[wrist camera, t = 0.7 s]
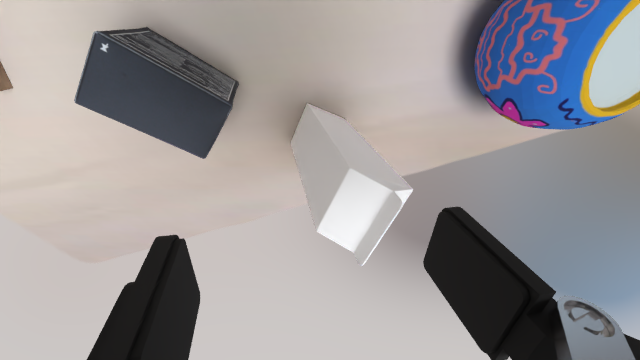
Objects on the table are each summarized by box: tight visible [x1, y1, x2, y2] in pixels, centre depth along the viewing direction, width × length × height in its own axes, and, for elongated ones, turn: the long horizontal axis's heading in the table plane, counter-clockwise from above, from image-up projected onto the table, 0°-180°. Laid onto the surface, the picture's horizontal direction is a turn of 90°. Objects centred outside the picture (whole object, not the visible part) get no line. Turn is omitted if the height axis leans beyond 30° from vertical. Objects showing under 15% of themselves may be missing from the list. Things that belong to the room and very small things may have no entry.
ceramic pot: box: [474, 0, 640, 129], centre depth 30 cm, size 18×18×15 cm
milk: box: [291, 103, 413, 266], centre depth 27 cm, size 6×6×22 cm
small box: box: [74, 27, 239, 159], centre depth 26 cm, size 11×6×10 cm, turn 56°
